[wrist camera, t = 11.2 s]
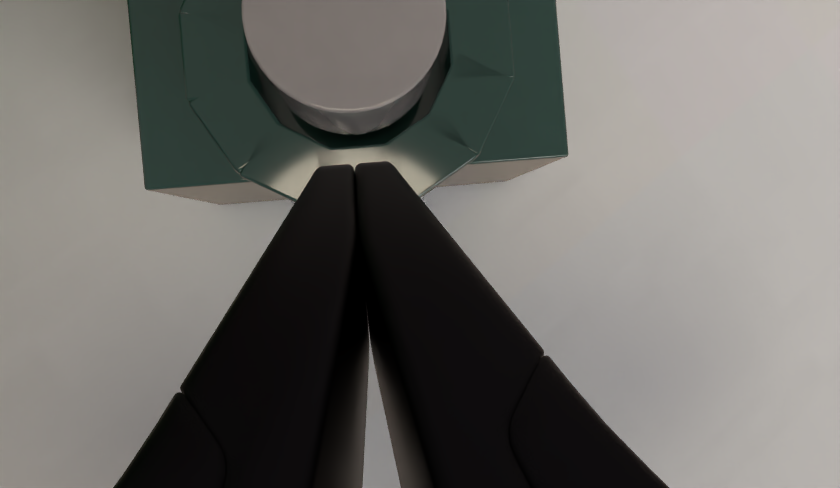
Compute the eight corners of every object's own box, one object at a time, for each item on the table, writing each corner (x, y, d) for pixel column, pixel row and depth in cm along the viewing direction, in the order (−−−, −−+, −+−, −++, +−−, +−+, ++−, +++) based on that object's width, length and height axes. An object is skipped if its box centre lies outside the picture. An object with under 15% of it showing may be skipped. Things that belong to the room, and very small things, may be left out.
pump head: (440, 128, 13) (455, 104, 11) (273, 141, 13) (250, 120, 10) (426, -39, 13) (437, -99, 11) (257, -29, 13) (231, -88, 10)
